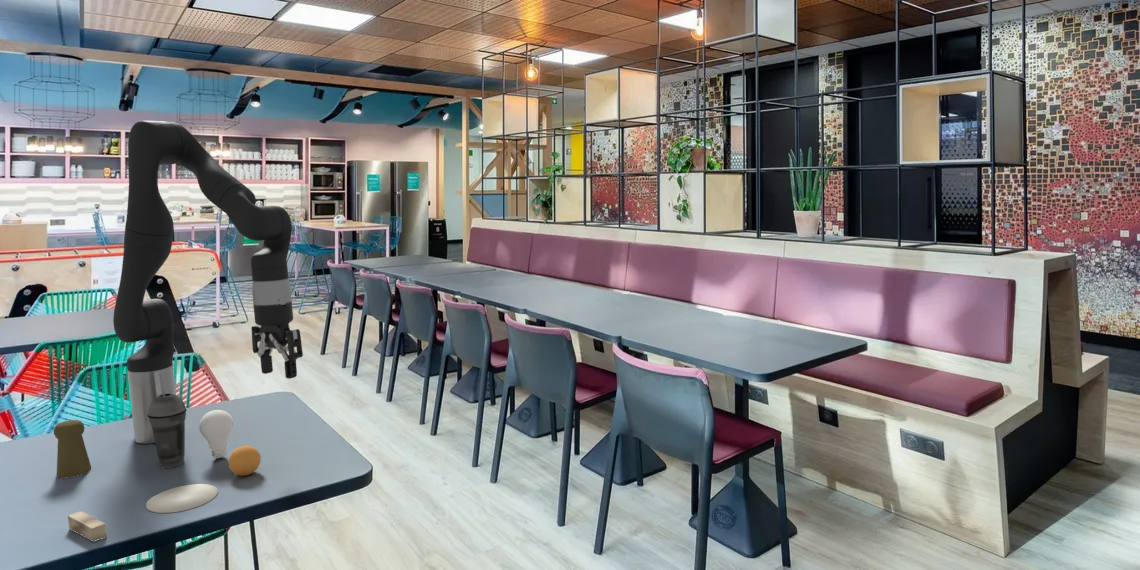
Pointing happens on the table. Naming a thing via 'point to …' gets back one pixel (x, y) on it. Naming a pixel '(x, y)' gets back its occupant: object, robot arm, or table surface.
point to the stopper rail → (87, 525)
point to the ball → (244, 460)
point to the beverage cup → (168, 428)
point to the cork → (71, 449)
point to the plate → (181, 498)
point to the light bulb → (216, 431)
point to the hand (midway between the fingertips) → (279, 375)
